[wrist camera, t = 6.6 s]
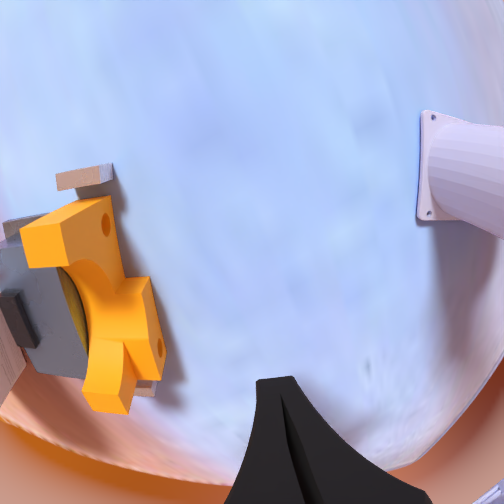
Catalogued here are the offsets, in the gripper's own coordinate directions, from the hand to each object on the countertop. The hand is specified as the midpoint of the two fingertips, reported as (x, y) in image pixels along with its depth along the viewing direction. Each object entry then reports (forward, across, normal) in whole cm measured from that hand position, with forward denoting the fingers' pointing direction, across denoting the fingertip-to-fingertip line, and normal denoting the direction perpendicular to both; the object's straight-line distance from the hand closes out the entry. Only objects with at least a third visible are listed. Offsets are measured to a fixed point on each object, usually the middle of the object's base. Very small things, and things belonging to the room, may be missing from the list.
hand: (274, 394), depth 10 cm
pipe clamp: (+10, +9, 0) cm, 13 cm away
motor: (+9, +13, 0) cm, 16 cm away
